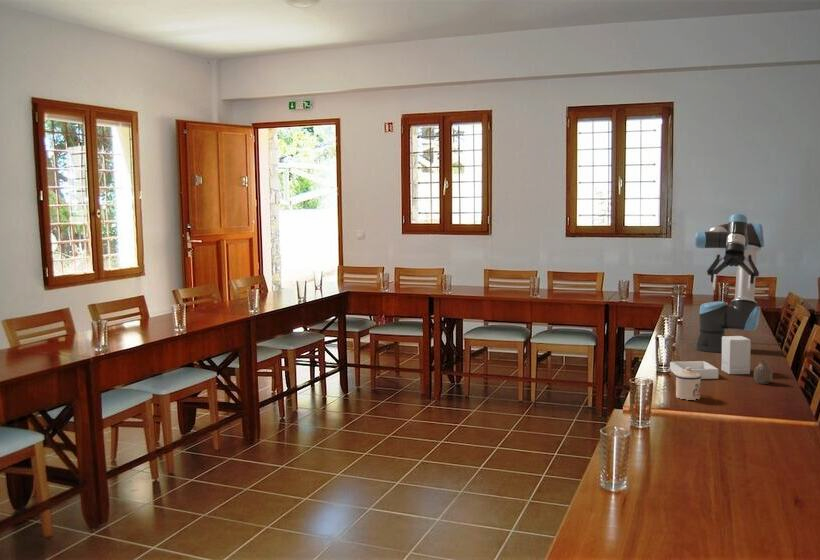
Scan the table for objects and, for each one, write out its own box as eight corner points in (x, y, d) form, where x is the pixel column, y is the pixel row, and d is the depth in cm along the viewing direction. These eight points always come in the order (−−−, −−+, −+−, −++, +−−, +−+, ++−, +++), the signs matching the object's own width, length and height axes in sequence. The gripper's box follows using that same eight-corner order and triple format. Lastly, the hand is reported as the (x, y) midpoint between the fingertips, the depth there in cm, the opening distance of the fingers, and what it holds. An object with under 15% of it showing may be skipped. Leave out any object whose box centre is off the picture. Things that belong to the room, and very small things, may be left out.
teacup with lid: (697, 402, 274) (698, 371, 273) (672, 399, 279) (672, 368, 278) (705, 394, 284) (705, 364, 282) (680, 391, 289) (680, 362, 287)
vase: (768, 380, 302) (769, 359, 301) (775, 385, 295) (775, 363, 294) (750, 380, 302) (751, 359, 301) (757, 385, 295) (757, 363, 294)
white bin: (669, 370, 322) (669, 361, 322) (704, 370, 322) (704, 361, 322) (681, 379, 307) (681, 369, 307) (718, 378, 307) (718, 369, 307)
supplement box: (750, 374, 313) (751, 339, 311) (729, 374, 313) (730, 339, 311) (741, 369, 322) (742, 335, 320) (720, 369, 322) (721, 335, 320)
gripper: (703, 241, 324) (698, 284, 315) (766, 242, 312) (763, 286, 303) (705, 250, 330) (700, 292, 321) (767, 251, 318) (764, 294, 309)
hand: (731, 289), depth 312 cm, fingers open, 13 cm apart
